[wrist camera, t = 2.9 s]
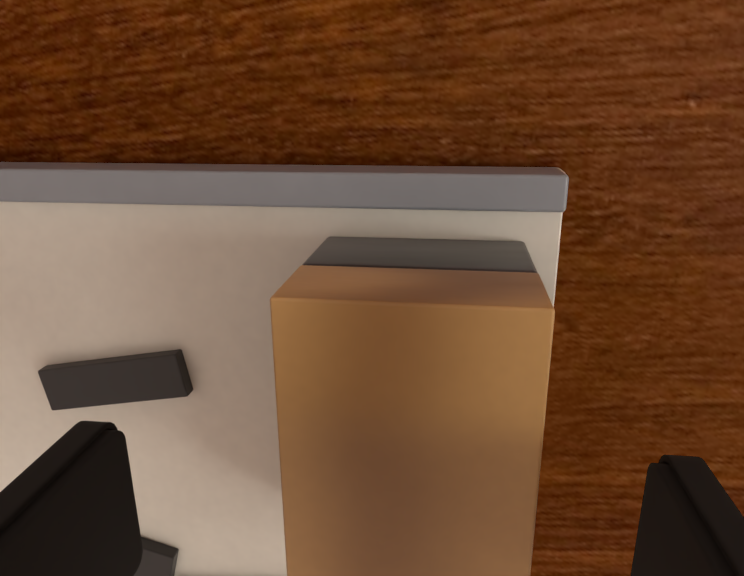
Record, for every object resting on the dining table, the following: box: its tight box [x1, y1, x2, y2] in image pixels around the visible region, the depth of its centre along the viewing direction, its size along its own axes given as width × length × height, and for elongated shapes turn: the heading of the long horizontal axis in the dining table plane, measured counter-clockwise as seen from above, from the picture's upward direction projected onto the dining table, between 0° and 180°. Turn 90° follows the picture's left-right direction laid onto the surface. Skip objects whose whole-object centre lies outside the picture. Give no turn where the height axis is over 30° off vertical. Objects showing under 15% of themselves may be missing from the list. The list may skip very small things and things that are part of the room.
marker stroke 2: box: [134, 537, 179, 576], centre depth 18 cm, size 4×1×1 cm, turn 76°
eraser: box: [270, 236, 555, 576], centre depth 13 cm, size 4×8×4 cm, turn 0°
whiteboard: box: [0, 162, 569, 576], centre depth 17 cm, size 18×19×1 cm
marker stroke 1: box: [38, 349, 193, 410], centre depth 16 cm, size 4×1×1 cm, turn 100°
